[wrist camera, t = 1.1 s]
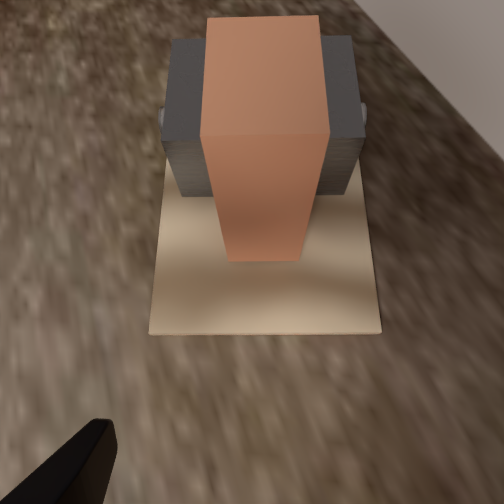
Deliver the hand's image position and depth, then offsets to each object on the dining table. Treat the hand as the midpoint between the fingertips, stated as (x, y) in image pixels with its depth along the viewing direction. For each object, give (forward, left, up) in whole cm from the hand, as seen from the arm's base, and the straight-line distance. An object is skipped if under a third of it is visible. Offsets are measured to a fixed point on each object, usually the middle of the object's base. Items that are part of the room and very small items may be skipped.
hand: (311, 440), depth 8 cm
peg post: (+8, +9, -13) cm, 18 cm away
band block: (+12, +14, -13) cm, 23 cm away
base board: (+9, +10, -14) cm, 19 cm away
